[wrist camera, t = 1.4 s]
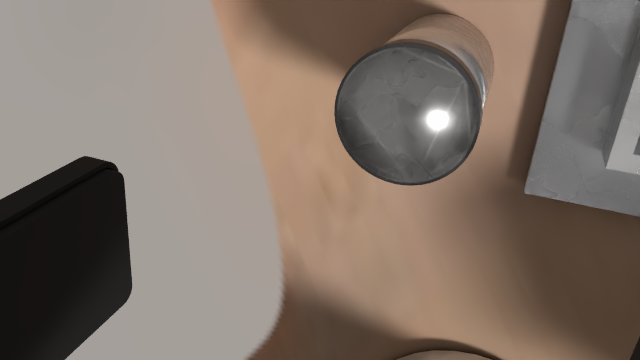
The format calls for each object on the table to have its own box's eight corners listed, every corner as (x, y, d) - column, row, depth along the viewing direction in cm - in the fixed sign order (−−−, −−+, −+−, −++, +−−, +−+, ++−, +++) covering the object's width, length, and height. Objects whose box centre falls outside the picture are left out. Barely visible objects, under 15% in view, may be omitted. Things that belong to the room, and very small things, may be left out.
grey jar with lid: (483, 129, 28) (464, 198, 21) (379, 110, 29) (329, 169, 22) (507, 19, 25) (494, 56, 18) (392, 4, 27) (341, 34, 20)
